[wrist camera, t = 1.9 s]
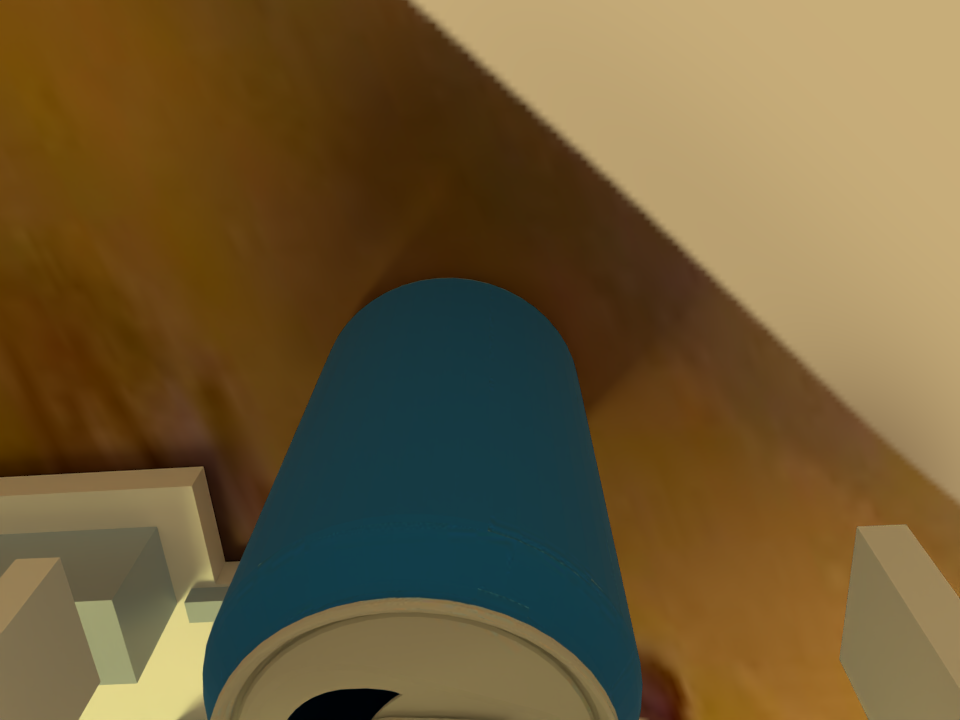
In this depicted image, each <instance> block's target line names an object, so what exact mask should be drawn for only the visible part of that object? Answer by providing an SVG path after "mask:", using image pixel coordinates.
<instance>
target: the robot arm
mask: <svg viewBox="0 0 960 720" xmlns="http://www.w3.org/2000/svg"><path fill="white" fill-rule="evenodd" d="M840 661H841V663H842V666H843V668H844V670H845V672H846V674H847V676H848V678H849V680H850V682H851V684H852V686H853V688H854V690H855V692H856V695H857V697H858V699H859V701H860V703H861V705H862V707H863V709H864V711H865V713H866V715H867V717H868V719H869V720H960V598H959V597H958V596H957V594H956V593H955V591H954V590H953V589H952V587H951V586H950V585H949V583H948V582H947V580H946V579H945V578H944V576H943V575H942V573H941V572H940V571H939V569H938V568H937V567H936V565H935V564H934V562H933V561H932V560H931V558H930V557H929V555H928V554H927V553H926V551H925V550H924V549H923V547H922V546H921V544H920V543H919V542H918V540H917V539H916V538H915V536H914V535H913V533H912V532H911V531H910V529H909V528H908V526H907V525H882V526H857V530H856V538H855V545H854V553H853V560H852V568H851V576H850V583H849V591H848V598H847V606H846V614H845V621H844V629H843V636H842V644H841V652H840ZM100 682H101V681H100V678H99V675H98V672H97V669H96V666H95V663H94V660H93V657H92V654H91V651H90V648H89V644H88V641H87V638H86V635H85V632H84V629H83V626H82V623H81V620H80V617H79V614H78V611H77V608H76V605H75V602H74V599H73V596H72V593H71V589H70V586H69V583H68V580H67V577H66V574H65V571H64V568H63V565H62V562H61V559H60V557H55V558H29V559H16V560H15V561H14V562H13V563H12V564H11V565H10V567H9V568H8V569H7V570H6V571H5V573H4V574H3V575H2V576H1V577H0V720H79V718H80V717H81V715H82V713H83V711H84V710H85V708H86V706H87V704H88V703H89V701H90V699H91V698H92V696H93V694H94V692H95V691H96V689H97V687H98V685H99V684H100Z"/></svg>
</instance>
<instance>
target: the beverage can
mask: <svg viewBox="0 0 960 720" xmlns="http://www.w3.org/2000/svg"><path fill="white" fill-rule="evenodd" d="M202 676H203V698H204V705H205V710H206V715H207V720H639V716H640V711H641V698H642V676H641V666H640V660H639V655H638V651H637V646H636V642H635V637H634V632H633V628H632V623H631V619H630V614H629V609H628V605H627V600H626V596H625V591H624V587H623V582H622V577H621V573H620V568H619V564H618V559H617V555H616V550H615V545H614V541H613V536H612V532H611V527H610V522H609V518H608V513H607V509H606V504H605V500H604V495H603V490H602V486H601V481H600V477H599V472H598V468H597V463H596V458H595V454H594V449H593V445H592V440H591V435H590V431H589V426H588V422H587V417H586V413H585V408H584V403H583V399H582V394H581V390H580V385H579V381H578V376H577V372H576V368H575V365H574V361H573V358H572V356H571V354H570V352H569V349H568V347H567V345H566V343H565V342H564V340H563V338H562V337H561V335H560V334H559V332H558V331H557V330H556V328H555V327H554V326H553V325H552V324H551V322H550V321H549V320H548V319H547V318H546V317H545V316H544V315H543V314H542V313H541V312H540V311H538V310H537V309H536V308H535V307H534V306H532V305H531V304H529V303H528V302H527V301H525V300H524V299H522V298H521V297H519V296H517V295H515V294H513V293H511V292H509V291H507V290H505V289H503V288H500V287H497V286H495V285H492V284H489V283H485V282H480V281H476V280H471V279H462V278H434V279H428V280H421V281H417V282H413V283H409V284H406V285H402V286H400V287H398V288H395V289H393V290H391V291H388V292H386V293H385V294H383V295H381V296H379V297H378V298H376V299H374V300H373V301H371V302H370V303H369V304H367V305H366V306H365V307H364V308H362V309H361V310H360V311H359V312H358V313H357V314H356V315H355V316H354V317H353V318H352V319H351V320H350V321H349V322H348V323H347V325H346V326H345V327H344V329H343V330H342V332H341V333H340V334H339V336H338V338H337V340H336V341H335V343H334V345H333V347H332V349H331V351H330V354H329V356H328V358H327V361H326V363H325V365H324V368H323V370H322V372H321V375H320V377H319V379H318V382H317V384H316V386H315V389H314V391H313V393H312V396H311V398H310V400H309V403H308V405H307V407H306V409H305V412H304V414H303V416H302V419H301V421H300V423H299V426H298V428H297V430H296V433H295V435H294V437H293V440H292V442H291V444H290V447H289V449H288V451H287V454H286V456H285V458H284V461H283V463H282V465H281V468H280V470H279V472H278V475H277V477H276V479H275V481H274V484H273V486H272V488H271V491H270V493H269V495H268V498H267V500H266V502H265V505H264V507H263V509H262V512H261V514H260V516H259V519H258V521H257V523H256V526H255V528H254V530H253V533H252V535H251V537H250V540H249V542H248V544H247V546H246V549H245V551H244V553H243V556H242V558H241V560H240V563H239V565H238V567H237V570H236V572H235V574H234V577H233V579H232V581H231V584H230V586H229V588H228V591H227V593H226V595H225V598H224V600H223V602H222V605H221V607H220V609H219V612H218V614H217V616H216V618H215V621H214V623H213V626H212V629H211V632H210V635H209V638H208V641H207V644H206V650H205V657H204V664H203V674H202Z"/></svg>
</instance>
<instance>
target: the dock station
mask: <svg viewBox="0 0 960 720" xmlns="http://www.w3.org/2000/svg"><path fill="white" fill-rule="evenodd" d="M55 557H60V559H61V562H62V565H63V568H64V571H65V574H66V577H67V580H68V583H69V586H70V589H71V593H72V596H73V599H74V602H75V605H76V608H77V611H78V614H79V617H80V620H81V623H82V626H83V629H84V632H85V635H86V638H87V641H88V644H89V648H90V651H91V654H92V657H93V660H94V663H95V666H96V669H97V672H98V675H99V678H100V681H101V682H100V684H99V685H98V687H97V689H96V691H95V692H94V694H93V696H92V698H91V699H90V701H89V703H88V704H87V706H86V708H85V710H84V711H83V713H82V715H81V717H80V718H79V720H207V715H206V710H205V705H204V698H203V676H202V674H203V664H204V657H205V650H206V644H207V641H208V638H209V635H210V632H211V629H212V626H213V623H214V621H215V618H216V616H217V614H218V612H219V609H220V607H221V605H222V602H223V600H224V598H225V595H226V593H227V591H228V588H229V586H230V584H231V581H232V579H233V577H234V574H235V572H236V570H237V567H238V565H239V563H240V561H236V562H225V558H224V554H223V549H222V545H221V541H220V536H219V532H218V528H217V523H216V519H215V515H214V510H213V506H212V502H211V497H210V493H209V489H208V484H207V480H206V476H205V471H204V467H203V466H202V467H184V468H165V469H147V470H128V471H109V472H91V473H72V474H54V475H35V476H17V477H0V577H1V576H2V575H3V574H4V573H5V571H6V570H7V569H8V568H9V567H10V565H11V564H12V563H13V562H14V561H15V560H16V559H29V558H55Z"/></svg>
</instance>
